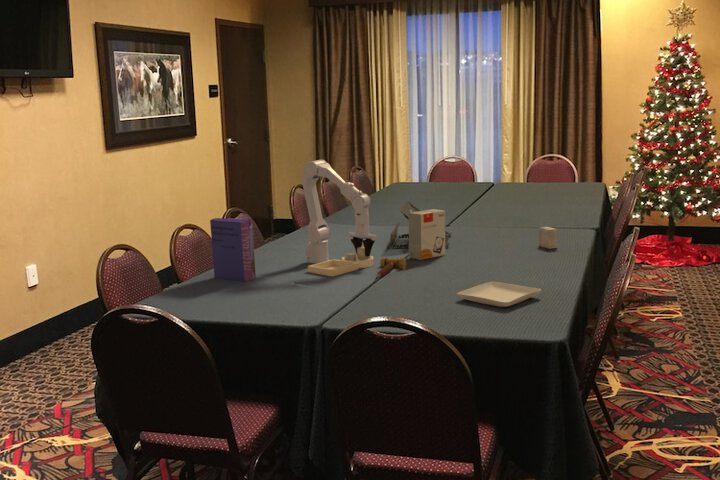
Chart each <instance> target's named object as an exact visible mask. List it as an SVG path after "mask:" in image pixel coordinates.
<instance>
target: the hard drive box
mask: <svg viewBox="0 0 720 480" xmlns="http://www.w3.org/2000/svg"><path fill="white" fill-rule="evenodd" d="M408 215H409V216H408V217H409V220H408V234H409V238H408V245H409V249H408V257H409V258H410V259H414V260H419V261H423V260H428V259H430V258H431V259H432V258H435V257H436V258H437V257H441V256H445V255H446V248H445V246H446V245H445V242H446V241H445V239H446V238H445V231H446V210H444V209H443V210H442V209H434V208H432V209H426V210H420V211H418V212H417V211H415V212H414V211H412V212H408Z"/></svg>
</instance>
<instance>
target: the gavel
mask: <svg viewBox="0 0 720 480" xmlns="http://www.w3.org/2000/svg"><path fill="white" fill-rule="evenodd" d="M407 264H408V263H407V259H406V257H405V258H403V257H401V258H390V257H389V258H388V257H384V256H381V259H380V265H379V266H380V270H379V271H377V274H376V277H377V279H379V278H383V277H384V276H385V275H386V274H388V273H389V272H390V271H392V269H393V268H399V270H405V269H406V268H407ZM381 268H382V269H381Z"/></svg>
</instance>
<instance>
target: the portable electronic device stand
mask: <svg viewBox="0 0 720 480" xmlns="http://www.w3.org/2000/svg"><path fill="white" fill-rule="evenodd" d="M418 211H421V210H420V209H418V208H417V207H416V206H414V205H413V204H412V203H411V202H410V201H408V200H406V201H405V203H404V205H403V206H402V207H401V208H400V212H401V213H402V215H403V216H404V218H406V219H407V221H409V213H411V212H418ZM400 225H401V222H400V221H399V222H397V224H396V226H395V227H394V229H393V230H392V232H391V234H390V238H389V239H390V240H389V249H391V248H392V249H393V250H409V244H397V243H398V241H399V239H409V233H406V234H405V233H404V234H402V235H401V234H399V227H400ZM398 234H399V235H398ZM451 235H452V232H450V233H449V232H447V231H446V230H445V249H446V248H448V246H450V242H449V240H450V239H449V238H450V237H451Z"/></svg>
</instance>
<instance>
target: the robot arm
mask: <svg viewBox="0 0 720 480" xmlns="http://www.w3.org/2000/svg"><path fill="white" fill-rule="evenodd" d="M302 171H303V174H302V179H301V183H302V188H303V193H304V196H305V198H304V199H305V202H306V207H307V211H308V217H309V224H308V225H307V230H308V231H307V239H308V241H309V242H307V245H306V247H305V249H306V251H305V253H306V260H305V263H306V264H307V263H311V264H317V263H321V262H325V261H329V260H330V259H329V258H330V257H329V239H330V236H331V233H332V232H331V229H330V228H329V226H328V223H327V221H326V220H325V219H324V218H323V214H322V210H321V204H320V199H319V193H318V190H317V184H316V183H317V182H318V181H319V178H320V177H322V178H323V177H324V178H327V180H329V181H330V182H332V183H333V185H335V186H337V188H339V190H340V191H339V192H340V193H341V195H342V196H344V197H345V198H346V199H347V200H348V201H350V202H351V205H352V208H353V209H354V221H355V224H354V226H355V231H350V232H348V238H350V241H351V244H352V245H353V248H354V249H355V250H354V251H355V254H356V255H358V254H357V248H358V247H364V248H365V256H366V257H368V256H371V254H372V253H371V252H372V249H373V247H374V243H375V241H377V240H378V235H377V234H373V233H370V216H369V214H370V213H369V209H370V208H369V206H370V205H371V203H372V201H371V197H370V196H369V194H367V193H364V192H362V190H359V189H358V188H357V187H356V186H355V184H354V183H353V182H350V181H347V182H346V181H345V180H344V179H343V178H342V177H341V176H340V175H339V174H338V173H337V172H336V171H335V170H334V169H333V168H332V166H331V165H330V163H328V162H327V161H326V160H324V159H318V160H310V161H307V162H306V163H305V164H304V166H303V167H302Z"/></svg>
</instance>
